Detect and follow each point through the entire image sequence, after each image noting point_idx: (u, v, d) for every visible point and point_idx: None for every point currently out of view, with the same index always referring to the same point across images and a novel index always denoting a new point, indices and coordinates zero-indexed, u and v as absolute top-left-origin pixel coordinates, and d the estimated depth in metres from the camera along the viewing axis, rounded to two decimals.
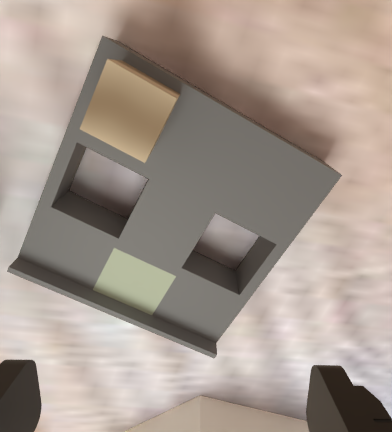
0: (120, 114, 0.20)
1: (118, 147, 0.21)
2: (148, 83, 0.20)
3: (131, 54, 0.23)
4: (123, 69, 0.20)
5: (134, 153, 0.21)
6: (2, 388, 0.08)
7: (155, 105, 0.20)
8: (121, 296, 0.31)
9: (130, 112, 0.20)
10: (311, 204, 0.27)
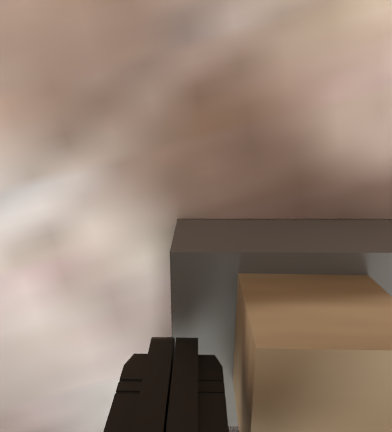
0: None
1: None
2: (369, 350, 0.08)
3: (233, 254, 0.11)
4: (300, 350, 0.08)
5: None
6: (166, 359, 0.09)
7: None
8: None
9: (346, 421, 0.08)
10: None
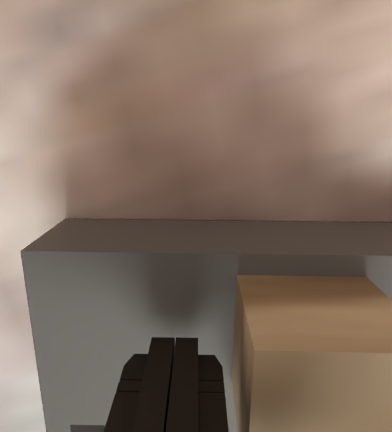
0: None
1: None
2: (366, 353, 0.08)
3: (83, 254, 0.12)
4: (298, 352, 0.08)
5: None
6: (166, 359, 0.09)
7: None
8: None
9: (344, 423, 0.08)
10: None
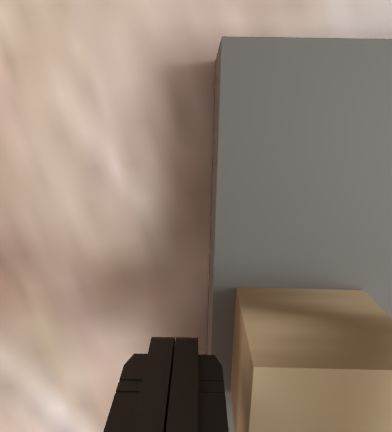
0: None
1: None
2: (250, 427, 0.09)
3: None
4: None
5: None
6: (166, 359, 0.09)
7: (291, 400, 0.08)
8: None
9: None
10: (328, 61, 0.10)
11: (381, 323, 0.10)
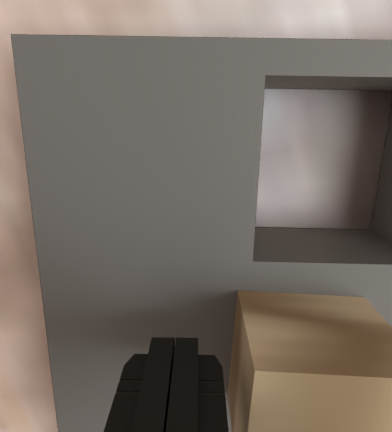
0: None
1: None
2: (249, 430, 0.09)
3: None
4: None
5: None
6: (166, 359, 0.09)
7: (290, 404, 0.08)
8: None
9: None
10: (119, 59, 0.10)
11: (381, 331, 0.10)
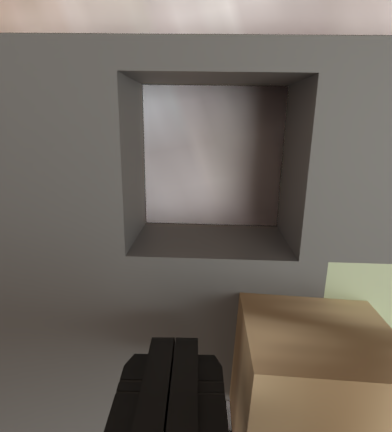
0: None
1: None
2: None
3: None
4: None
5: None
6: (166, 359, 0.09)
7: (290, 408, 0.08)
8: None
9: None
10: None
11: (383, 336, 0.10)
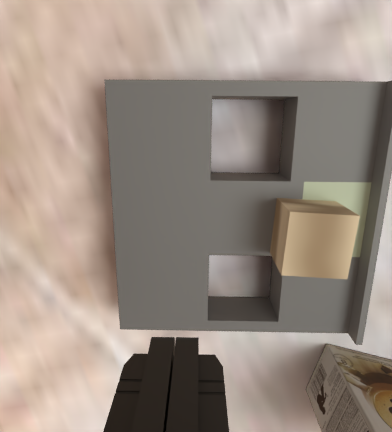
0: (321, 252, 0.22)
1: (352, 243, 0.22)
2: (287, 238, 0.22)
3: (119, 306, 0.28)
4: (284, 261, 0.23)
5: (353, 228, 0.22)
6: (166, 359, 0.09)
7: (303, 226, 0.22)
8: None
9: (317, 244, 0.22)
10: (149, 89, 0.23)
11: (340, 207, 0.23)
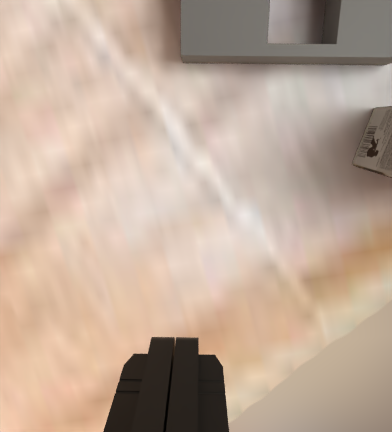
0: None
1: None
2: None
3: (182, 27, 0.29)
4: None
5: None
6: (166, 359, 0.09)
7: None
8: None
9: None
10: None
11: None
